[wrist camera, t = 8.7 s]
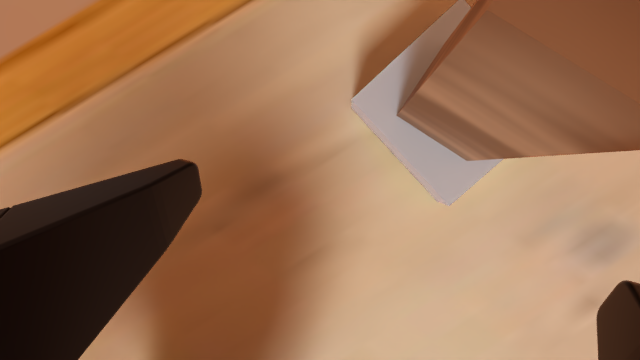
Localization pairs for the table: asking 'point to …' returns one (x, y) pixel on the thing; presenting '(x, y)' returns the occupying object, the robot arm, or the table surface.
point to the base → (402, 138)
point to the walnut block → (534, 80)
